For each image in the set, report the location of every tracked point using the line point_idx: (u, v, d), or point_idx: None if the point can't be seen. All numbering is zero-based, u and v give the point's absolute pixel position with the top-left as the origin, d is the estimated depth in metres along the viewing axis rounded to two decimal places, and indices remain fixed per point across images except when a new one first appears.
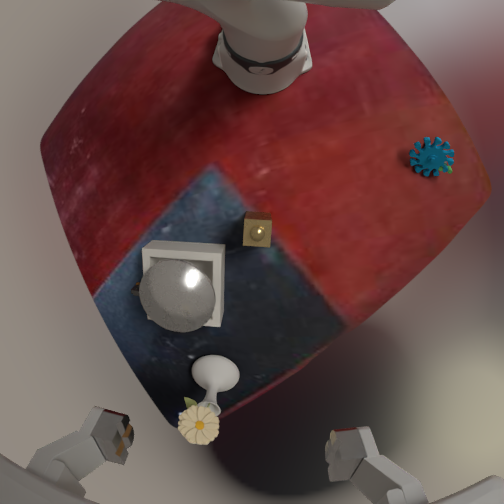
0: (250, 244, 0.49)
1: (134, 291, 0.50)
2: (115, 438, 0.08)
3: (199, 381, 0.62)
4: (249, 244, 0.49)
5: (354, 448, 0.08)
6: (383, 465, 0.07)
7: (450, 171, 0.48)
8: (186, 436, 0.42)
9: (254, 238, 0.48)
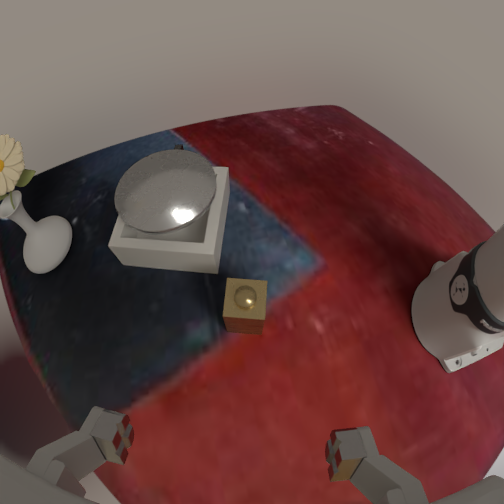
0: (228, 288, 0.32)
1: (180, 146, 0.41)
2: (115, 438, 0.08)
3: (43, 219, 0.41)
4: (228, 286, 0.32)
5: (354, 448, 0.08)
6: (383, 465, 0.07)
7: None
8: None
9: (238, 291, 0.31)
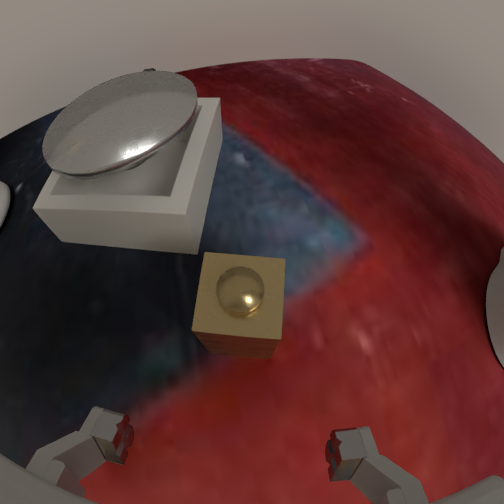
0: (205, 272, 0.16)
1: (150, 69, 0.24)
2: (115, 438, 0.08)
3: None
4: (205, 269, 0.16)
5: (354, 448, 0.08)
6: (383, 465, 0.07)
7: None
8: None
9: (226, 279, 0.15)
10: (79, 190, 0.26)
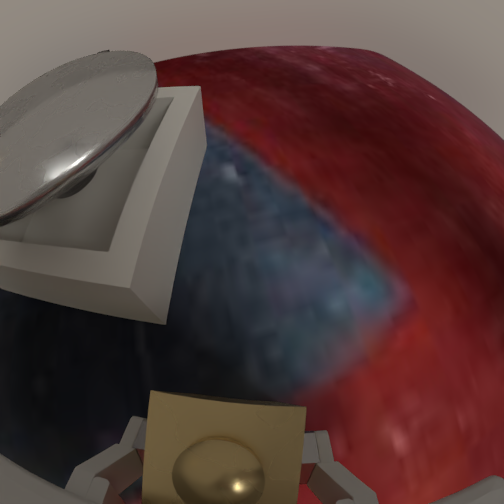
0: (154, 431, 0.07)
1: (105, 51, 0.15)
2: None
3: None
4: (154, 425, 0.07)
5: (308, 452, 0.08)
6: (337, 472, 0.07)
7: None
8: None
9: (190, 463, 0.06)
10: (17, 222, 0.17)
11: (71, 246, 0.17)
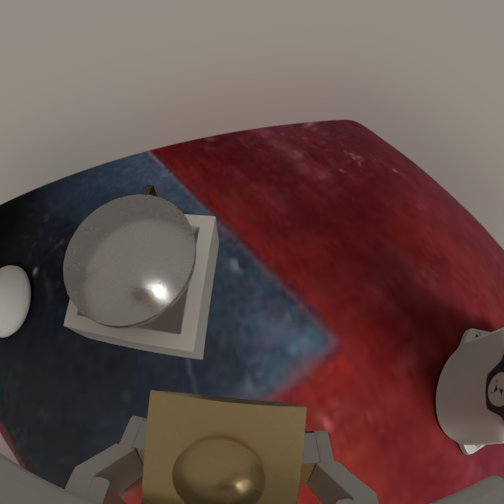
0: (154, 431, 0.07)
1: (149, 188, 0.30)
2: None
3: None
4: (154, 425, 0.07)
5: (307, 452, 0.08)
6: (336, 472, 0.07)
7: None
8: None
9: (190, 463, 0.06)
10: None
11: None
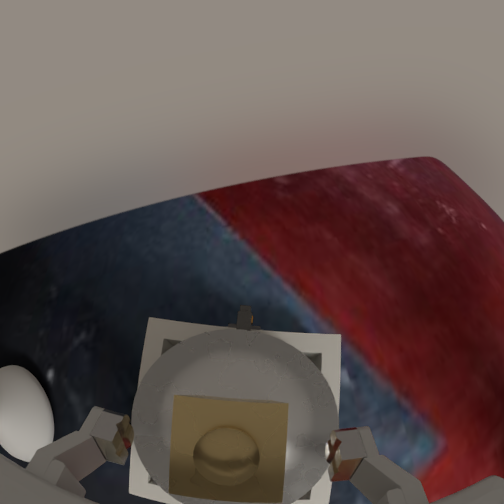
0: (177, 424, 0.10)
1: (249, 315, 0.20)
2: (115, 438, 0.08)
3: (1, 380, 0.19)
4: (177, 420, 0.10)
5: (354, 448, 0.08)
6: (383, 465, 0.07)
7: None
8: None
9: (206, 446, 0.09)
10: None
11: None
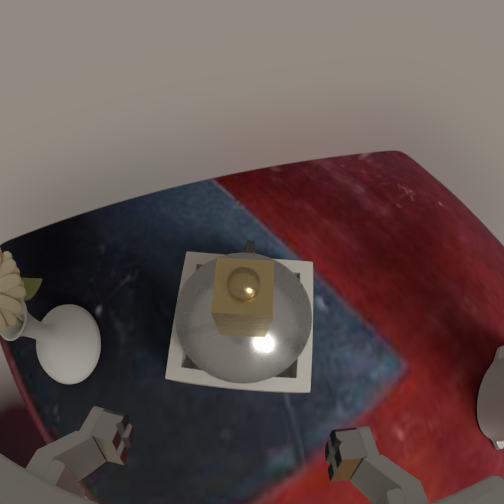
0: (218, 271, 0.22)
1: (252, 245, 0.33)
2: (115, 438, 0.08)
3: (58, 313, 0.32)
4: (218, 270, 0.23)
5: (354, 448, 0.08)
6: (383, 465, 0.07)
7: None
8: None
9: (233, 276, 0.21)
10: None
11: None
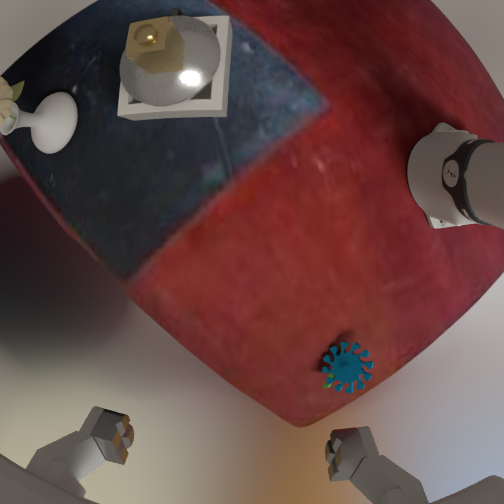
0: (131, 31, 0.23)
1: (176, 10, 0.28)
2: (115, 438, 0.08)
3: (43, 103, 0.35)
4: (131, 30, 0.23)
5: (354, 448, 0.08)
6: (383, 464, 0.07)
7: (326, 386, 0.50)
8: None
9: (138, 31, 0.22)
10: None
11: None
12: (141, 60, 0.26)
